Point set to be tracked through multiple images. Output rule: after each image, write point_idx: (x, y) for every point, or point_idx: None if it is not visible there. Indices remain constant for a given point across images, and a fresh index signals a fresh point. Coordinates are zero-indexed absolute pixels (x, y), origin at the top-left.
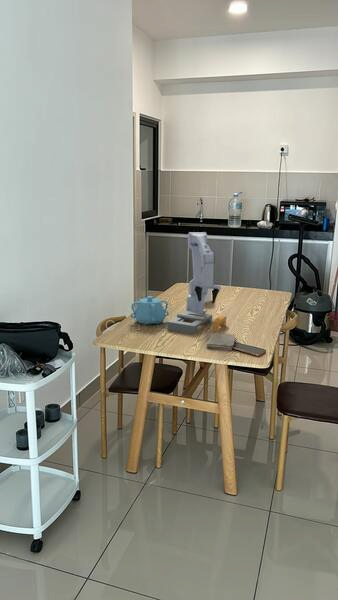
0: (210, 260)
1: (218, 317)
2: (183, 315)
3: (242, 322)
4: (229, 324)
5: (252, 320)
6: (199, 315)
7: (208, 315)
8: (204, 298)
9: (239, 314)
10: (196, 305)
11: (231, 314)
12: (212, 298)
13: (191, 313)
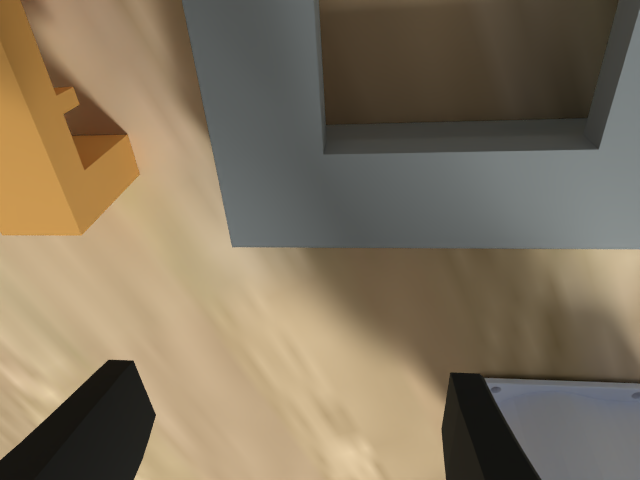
0: None
1: (14, 109)
2: None
3: (27, 313)
4: None
5: (14, 382)
6: (393, 150)
7: (258, 196)
8: None
9: (186, 458)
10: (565, 461)
11: (234, 443)
12: (46, 458)
13: (554, 167)
